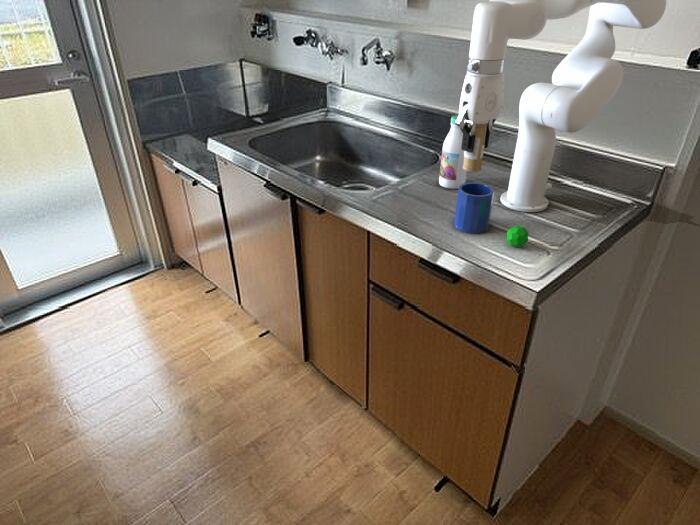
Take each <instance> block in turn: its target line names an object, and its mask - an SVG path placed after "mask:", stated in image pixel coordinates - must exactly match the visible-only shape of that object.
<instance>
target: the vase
mask: <svg viewBox="0 0 700 525" xmlns="http://www.w3.org/2000/svg"><path fill="white" fill-rule="evenodd" d="M494 197H495V189H494V188H493V187H492V186H491V185H488V184H486V183H482V182H472V181H471V182H465V183H464V184H461V185H460V186H459V188H457V197H456V205H455V212H454V222H453V225H454V227H455V229H457V230H458V231H459V232H463V233H465V234H466V233H467V234H473V235H474V234H475V235H476V234H482V233H485V232H486V231H487V230H489V226H490V220H491V215H492V210H493V209H492V208H493V202H494Z"/></svg>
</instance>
